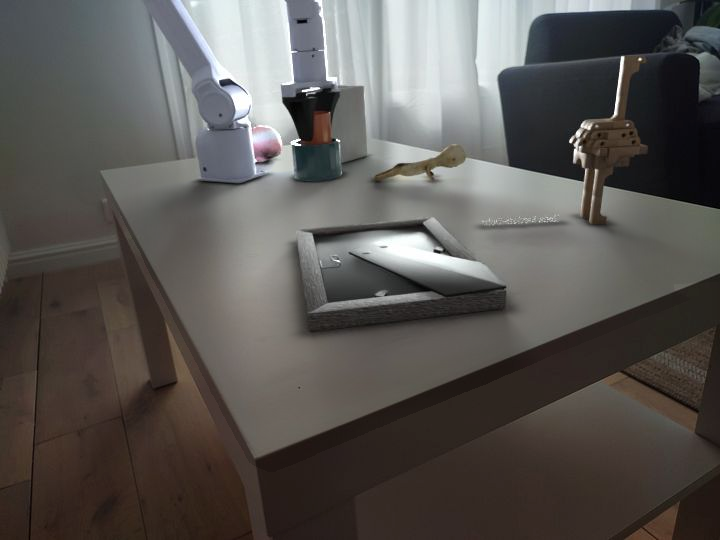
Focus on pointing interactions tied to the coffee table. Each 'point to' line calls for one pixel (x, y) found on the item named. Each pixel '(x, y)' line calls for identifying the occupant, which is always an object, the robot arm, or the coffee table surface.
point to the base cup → (317, 161)
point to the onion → (265, 143)
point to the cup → (320, 129)
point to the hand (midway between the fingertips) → (315, 137)
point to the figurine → (427, 164)
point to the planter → (350, 122)
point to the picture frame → (390, 274)
